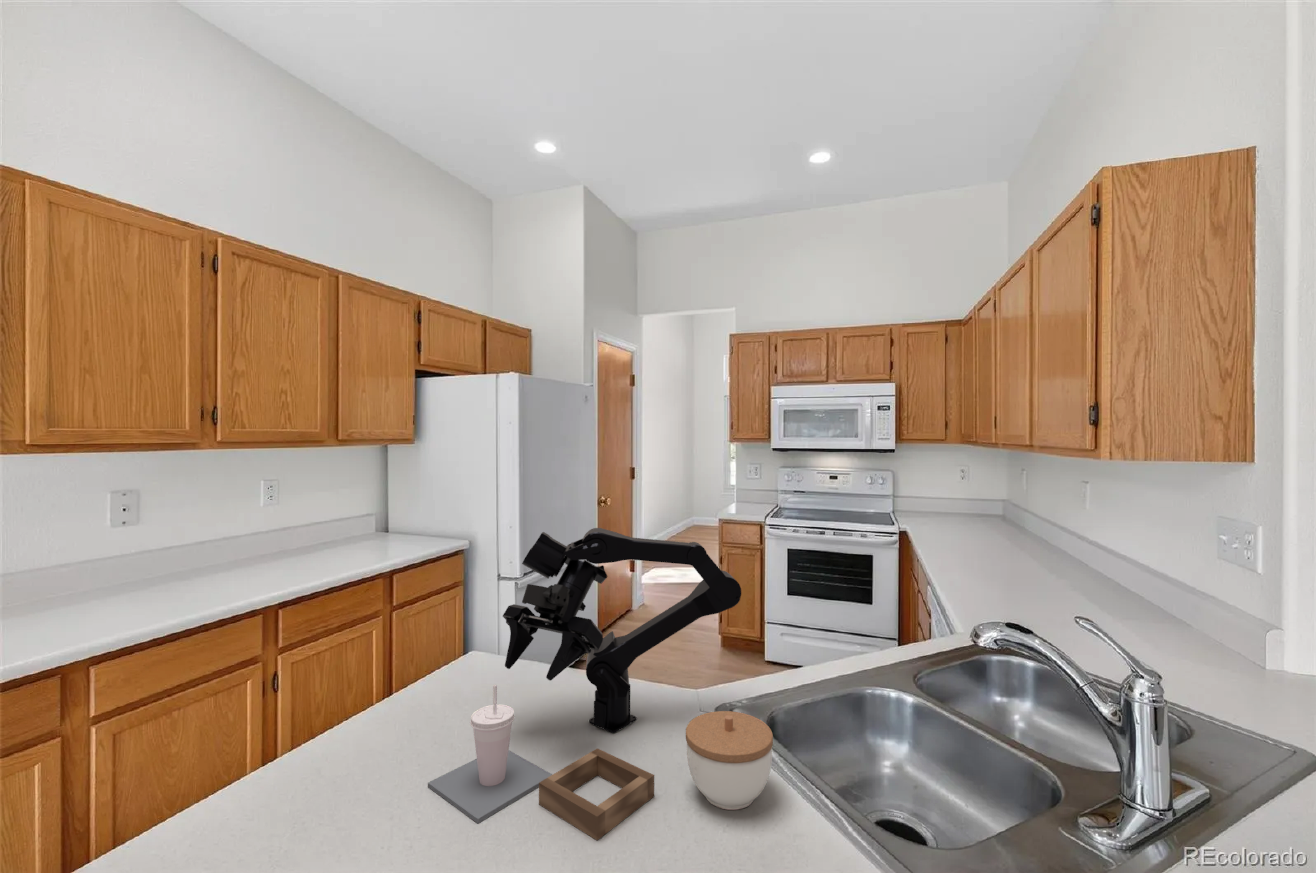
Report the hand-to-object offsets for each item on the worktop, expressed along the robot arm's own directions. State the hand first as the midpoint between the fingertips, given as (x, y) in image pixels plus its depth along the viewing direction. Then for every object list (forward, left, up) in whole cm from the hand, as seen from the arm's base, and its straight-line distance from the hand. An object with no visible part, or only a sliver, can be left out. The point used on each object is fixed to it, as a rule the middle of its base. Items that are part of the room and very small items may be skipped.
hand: (527, 673), depth 90 cm
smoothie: (+7, +2, -13) cm, 15 cm away
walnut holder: (+1, +17, -14) cm, 22 cm away
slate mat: (+8, +1, -14) cm, 16 cm away
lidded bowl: (-12, +31, -14) cm, 36 cm away
